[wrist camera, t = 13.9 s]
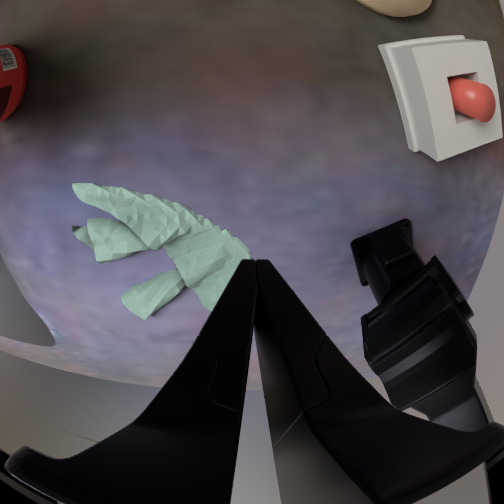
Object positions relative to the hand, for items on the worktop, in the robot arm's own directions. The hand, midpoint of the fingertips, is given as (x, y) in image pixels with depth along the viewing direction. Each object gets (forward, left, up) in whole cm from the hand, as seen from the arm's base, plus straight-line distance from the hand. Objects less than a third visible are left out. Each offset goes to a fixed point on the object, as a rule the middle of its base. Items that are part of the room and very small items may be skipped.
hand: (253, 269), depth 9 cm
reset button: (0, -17, -12) cm, 21 cm away
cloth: (-5, +14, -14) cm, 20 cm away
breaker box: (0, -17, -13) cm, 21 cm away
